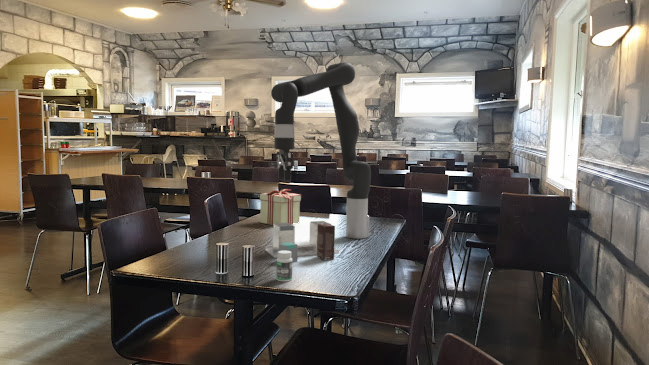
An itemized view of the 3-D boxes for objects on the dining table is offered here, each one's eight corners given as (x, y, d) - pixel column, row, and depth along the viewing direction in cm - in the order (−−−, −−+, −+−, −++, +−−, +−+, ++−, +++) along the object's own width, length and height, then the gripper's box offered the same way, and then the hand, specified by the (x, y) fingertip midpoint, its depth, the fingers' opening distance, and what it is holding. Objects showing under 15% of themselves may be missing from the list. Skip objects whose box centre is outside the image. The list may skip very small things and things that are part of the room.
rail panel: (326, 246, 190) (327, 219, 189) (339, 252, 179) (339, 224, 178) (265, 250, 181) (265, 222, 180) (274, 257, 170) (274, 228, 169)
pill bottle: (273, 280, 141) (273, 252, 141) (280, 276, 146) (280, 249, 145) (288, 282, 140) (288, 254, 139) (294, 278, 144) (295, 250, 144)
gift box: (287, 227, 232) (287, 192, 230) (257, 223, 242) (258, 189, 240) (307, 223, 246) (307, 189, 244) (279, 219, 256) (279, 187, 254)
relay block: (290, 259, 168) (290, 242, 168) (297, 261, 165) (297, 244, 165) (278, 261, 165) (278, 243, 165) (285, 263, 162) (285, 245, 162)
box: (334, 259, 169) (335, 225, 168) (323, 260, 167) (324, 226, 166) (327, 255, 174) (327, 223, 173) (316, 256, 172) (316, 223, 171)
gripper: (299, 136, 175) (299, 181, 177) (288, 137, 188) (288, 178, 190) (279, 136, 173) (279, 181, 174) (270, 136, 186) (270, 178, 187)
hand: (284, 179), depth 182 cm, fingers open, 8 cm apart
